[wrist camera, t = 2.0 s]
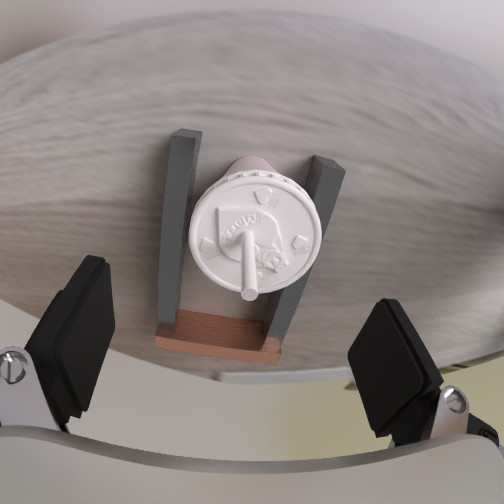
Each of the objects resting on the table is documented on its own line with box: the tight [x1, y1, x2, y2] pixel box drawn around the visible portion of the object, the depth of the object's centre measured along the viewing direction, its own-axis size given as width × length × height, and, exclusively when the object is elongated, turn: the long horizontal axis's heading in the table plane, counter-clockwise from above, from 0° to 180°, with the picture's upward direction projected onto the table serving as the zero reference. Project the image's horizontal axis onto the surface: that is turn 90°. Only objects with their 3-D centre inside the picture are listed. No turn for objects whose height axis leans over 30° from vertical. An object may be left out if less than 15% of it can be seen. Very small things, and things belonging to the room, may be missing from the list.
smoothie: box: [189, 156, 322, 301], centre depth 16 cm, size 6×6×14 cm
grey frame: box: [155, 129, 346, 364], centre depth 24 cm, size 12×19×4 cm, turn 168°
